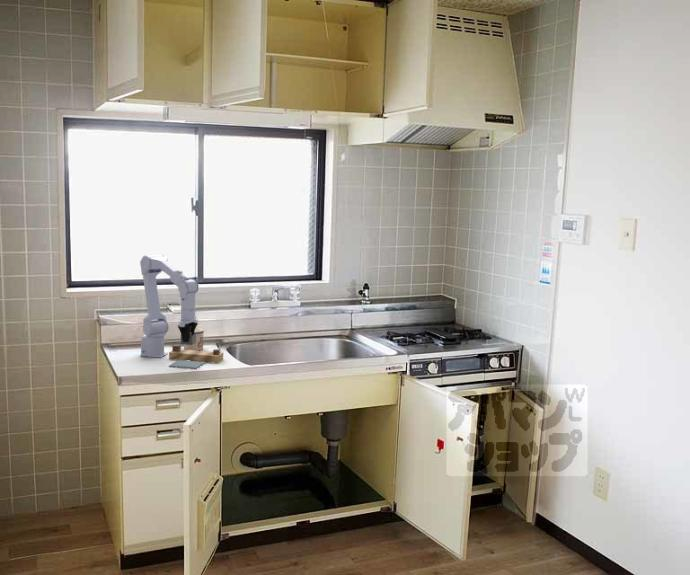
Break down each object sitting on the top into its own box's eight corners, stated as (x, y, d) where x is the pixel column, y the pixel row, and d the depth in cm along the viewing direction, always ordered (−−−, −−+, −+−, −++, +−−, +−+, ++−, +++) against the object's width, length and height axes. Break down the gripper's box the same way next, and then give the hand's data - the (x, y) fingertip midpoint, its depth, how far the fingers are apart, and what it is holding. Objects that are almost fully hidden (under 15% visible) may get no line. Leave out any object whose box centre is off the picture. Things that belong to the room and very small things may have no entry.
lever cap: (180, 344, 299) (180, 332, 298) (184, 342, 303) (184, 330, 303) (192, 345, 298) (192, 333, 298) (195, 342, 302) (196, 331, 302)
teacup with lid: (201, 351, 327) (202, 326, 325) (181, 351, 326) (182, 326, 325) (205, 346, 338) (206, 321, 337) (186, 345, 338) (186, 321, 336)
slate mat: (168, 366, 298) (168, 365, 298) (177, 361, 307) (177, 360, 307) (196, 369, 296) (196, 367, 296) (204, 363, 306) (204, 362, 306)
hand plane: (169, 359, 311) (169, 346, 310) (175, 355, 318) (175, 343, 317) (218, 363, 308) (218, 350, 307) (223, 359, 314) (223, 347, 314)
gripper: (191, 312, 291) (190, 345, 293) (203, 306, 305) (202, 338, 307) (174, 311, 292) (174, 343, 294) (187, 305, 306) (186, 336, 308)
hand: (187, 340), depth 301 cm, fingers closed on lever cap, 4 cm apart
